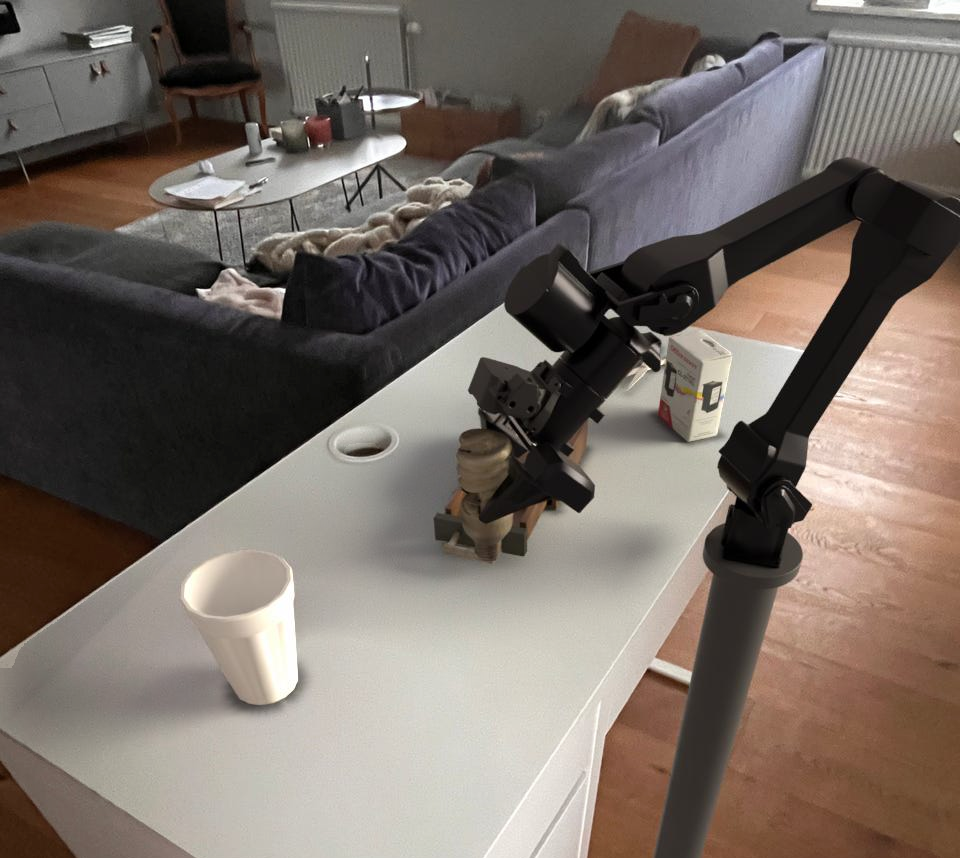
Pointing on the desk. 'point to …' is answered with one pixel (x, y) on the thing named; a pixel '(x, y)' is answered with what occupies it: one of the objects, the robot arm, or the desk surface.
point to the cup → (246, 621)
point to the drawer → (453, 532)
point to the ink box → (694, 385)
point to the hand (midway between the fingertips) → (472, 506)
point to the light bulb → (483, 486)
